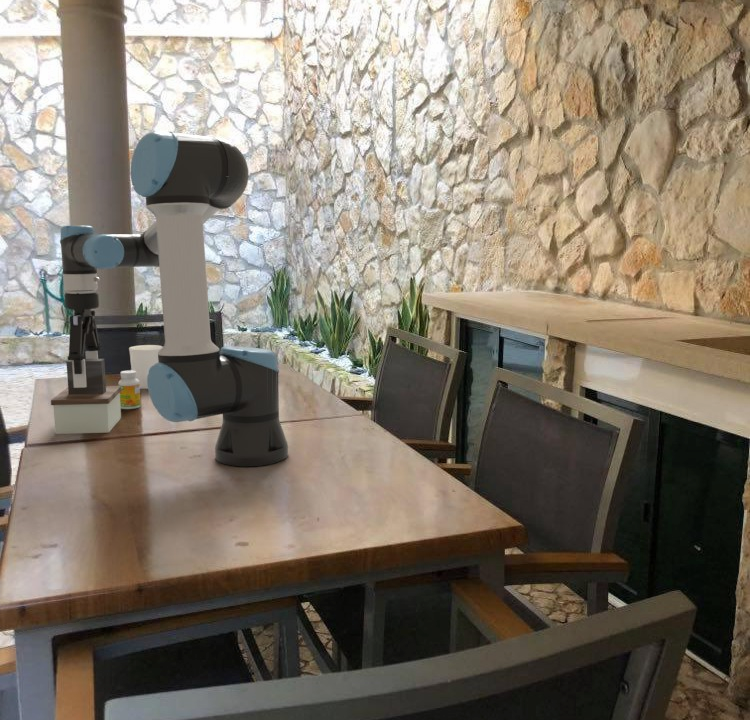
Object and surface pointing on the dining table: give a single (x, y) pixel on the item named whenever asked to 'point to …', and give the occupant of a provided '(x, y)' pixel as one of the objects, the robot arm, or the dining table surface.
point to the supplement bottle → (129, 390)
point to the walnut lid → (88, 386)
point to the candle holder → (143, 361)
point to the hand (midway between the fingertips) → (86, 382)
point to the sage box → (87, 417)
